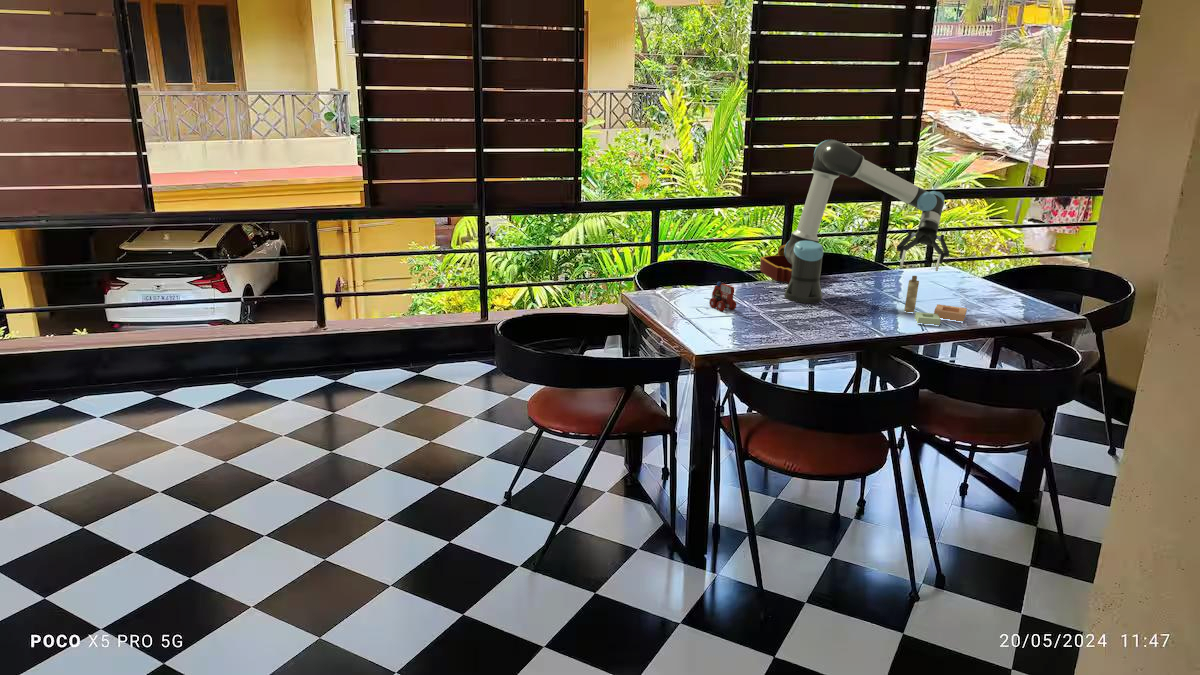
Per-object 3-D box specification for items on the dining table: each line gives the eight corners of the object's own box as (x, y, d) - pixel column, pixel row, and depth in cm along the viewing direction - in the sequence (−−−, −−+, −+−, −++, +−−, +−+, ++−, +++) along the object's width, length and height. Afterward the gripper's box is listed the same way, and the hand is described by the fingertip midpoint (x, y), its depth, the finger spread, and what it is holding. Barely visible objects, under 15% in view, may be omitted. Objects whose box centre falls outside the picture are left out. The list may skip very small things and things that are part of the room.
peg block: (903, 313, 336) (909, 276, 331) (905, 311, 339) (910, 274, 334) (913, 314, 335) (918, 277, 330) (914, 312, 338) (919, 275, 333)
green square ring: (917, 325, 320) (918, 317, 319) (914, 319, 328) (915, 311, 327) (939, 327, 319) (940, 319, 318) (935, 321, 326) (937, 313, 325)
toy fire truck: (720, 303, 339) (722, 278, 336) (738, 311, 329) (740, 286, 326) (705, 305, 336) (707, 280, 333) (723, 313, 326) (726, 287, 323)
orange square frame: (933, 319, 329) (934, 310, 328) (935, 312, 338) (937, 304, 337) (963, 323, 324) (964, 314, 323) (965, 316, 334) (966, 308, 333)
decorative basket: (752, 271, 408) (750, 241, 403) (811, 263, 409) (810, 233, 404) (772, 290, 376) (770, 257, 371) (835, 281, 377) (835, 249, 372)
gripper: (960, 233, 347) (951, 276, 338) (897, 227, 357) (887, 268, 349) (961, 222, 341) (952, 265, 332) (897, 216, 351) (886, 257, 343)
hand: (918, 267), depth 341 cm, fingers open, 13 cm apart
